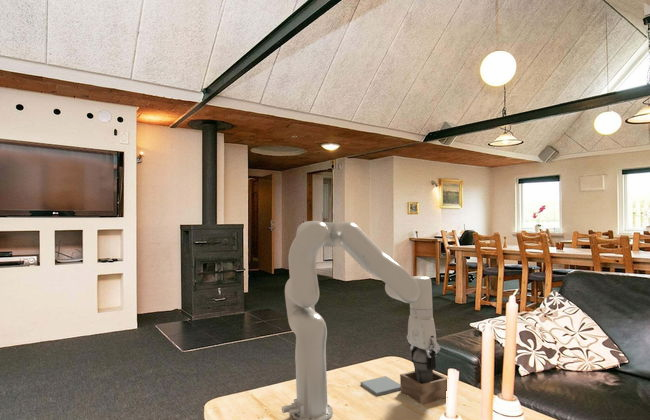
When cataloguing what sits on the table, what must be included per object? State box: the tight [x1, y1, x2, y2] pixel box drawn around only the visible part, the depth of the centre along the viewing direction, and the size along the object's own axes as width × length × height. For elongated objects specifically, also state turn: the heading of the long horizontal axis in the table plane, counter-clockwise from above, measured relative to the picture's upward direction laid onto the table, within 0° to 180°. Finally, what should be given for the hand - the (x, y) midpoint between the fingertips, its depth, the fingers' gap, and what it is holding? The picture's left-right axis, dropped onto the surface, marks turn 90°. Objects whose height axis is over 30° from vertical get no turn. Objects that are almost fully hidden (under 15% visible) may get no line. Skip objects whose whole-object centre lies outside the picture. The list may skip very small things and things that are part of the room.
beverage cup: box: [411, 348, 434, 384], centre depth 139 cm, size 7×7×20 cm
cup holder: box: [399, 370, 448, 405], centre depth 138 cm, size 11×11×6 cm
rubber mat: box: [360, 375, 401, 397], centre depth 146 cm, size 11×11×1 cm
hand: (423, 364), depth 139 cm, fingers closed on beverage cup, 7 cm apart
